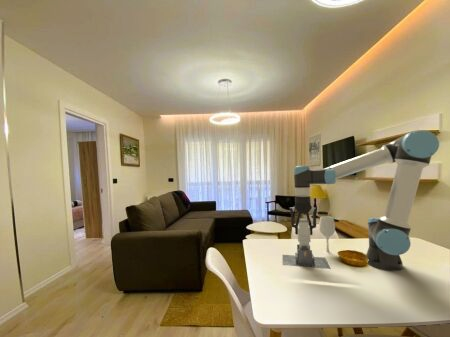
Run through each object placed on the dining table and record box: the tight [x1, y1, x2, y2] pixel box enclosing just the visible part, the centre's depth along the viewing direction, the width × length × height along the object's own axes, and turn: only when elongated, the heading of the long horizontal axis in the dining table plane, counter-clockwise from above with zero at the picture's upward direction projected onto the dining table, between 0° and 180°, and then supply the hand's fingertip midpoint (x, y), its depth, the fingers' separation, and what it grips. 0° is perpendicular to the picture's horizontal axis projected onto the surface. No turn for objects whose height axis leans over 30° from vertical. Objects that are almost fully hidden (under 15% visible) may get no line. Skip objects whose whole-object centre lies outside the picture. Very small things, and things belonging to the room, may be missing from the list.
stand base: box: [282, 243, 331, 270], centre depth 113 cm, size 22×14×10 cm, turn 76°
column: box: [298, 218, 310, 250], centre depth 113 cm, size 5×5×19 cm
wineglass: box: [318, 215, 336, 254], centre depth 125 cm, size 9×9×21 cm
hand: (304, 240), depth 113 cm, fingers closed on column, 4 cm apart
